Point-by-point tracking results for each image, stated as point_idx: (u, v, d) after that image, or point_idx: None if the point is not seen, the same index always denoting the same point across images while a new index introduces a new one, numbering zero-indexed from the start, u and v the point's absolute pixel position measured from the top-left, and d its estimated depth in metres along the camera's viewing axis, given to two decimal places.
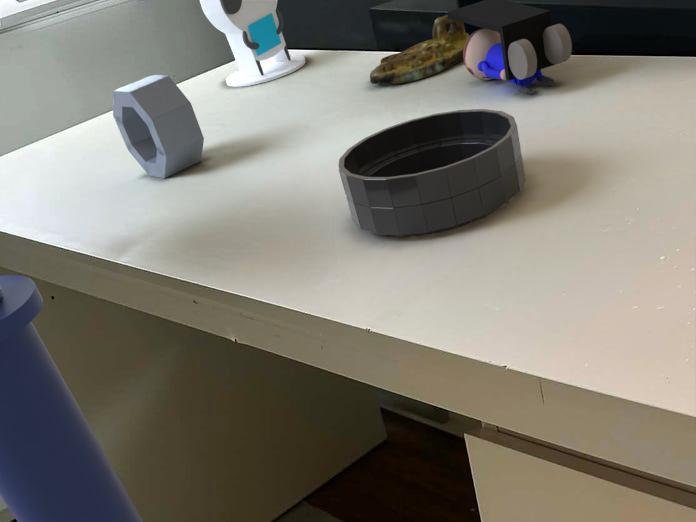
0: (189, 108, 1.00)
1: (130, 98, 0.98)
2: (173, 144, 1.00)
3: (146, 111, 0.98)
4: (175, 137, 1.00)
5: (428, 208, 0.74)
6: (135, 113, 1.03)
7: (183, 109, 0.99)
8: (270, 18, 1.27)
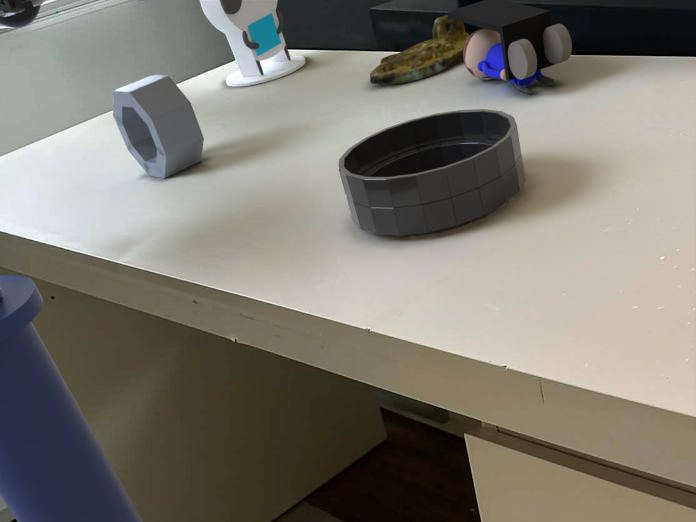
0: (189, 108, 1.00)
1: (130, 98, 0.98)
2: (173, 144, 1.00)
3: (146, 111, 0.98)
4: (175, 137, 1.00)
5: (428, 208, 0.74)
6: (135, 113, 1.03)
7: (183, 109, 0.99)
8: (270, 18, 1.27)
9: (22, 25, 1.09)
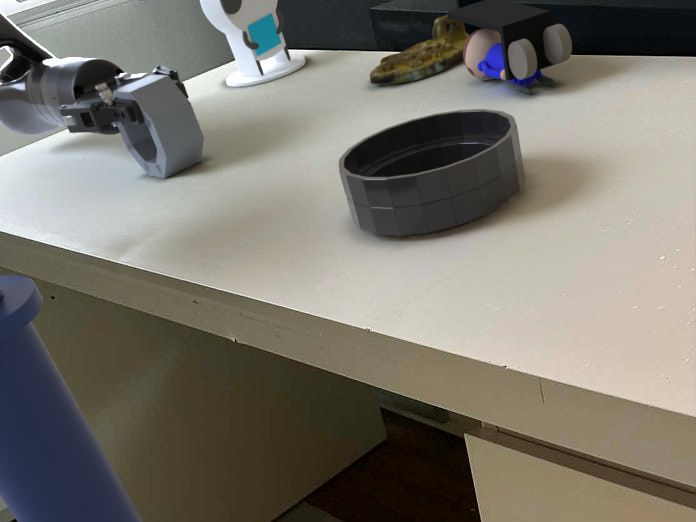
0: (189, 108, 1.00)
1: (130, 98, 0.98)
2: (173, 144, 1.00)
3: (146, 111, 0.98)
4: (175, 137, 1.00)
5: (428, 208, 0.74)
6: None
7: (183, 109, 0.99)
8: (270, 18, 1.27)
9: (117, 132, 1.09)
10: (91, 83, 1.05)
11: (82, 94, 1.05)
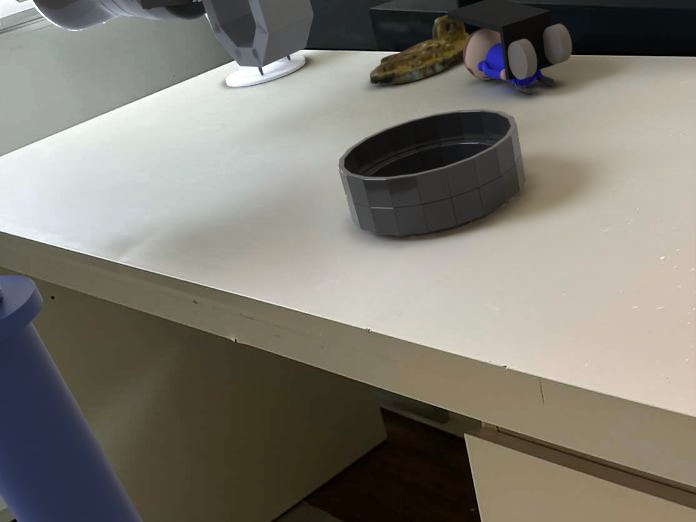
0: None
1: None
2: (277, 19, 0.78)
3: None
4: (280, 10, 0.78)
5: (428, 208, 0.74)
6: None
7: None
8: None
9: (196, 16, 0.87)
10: None
11: None
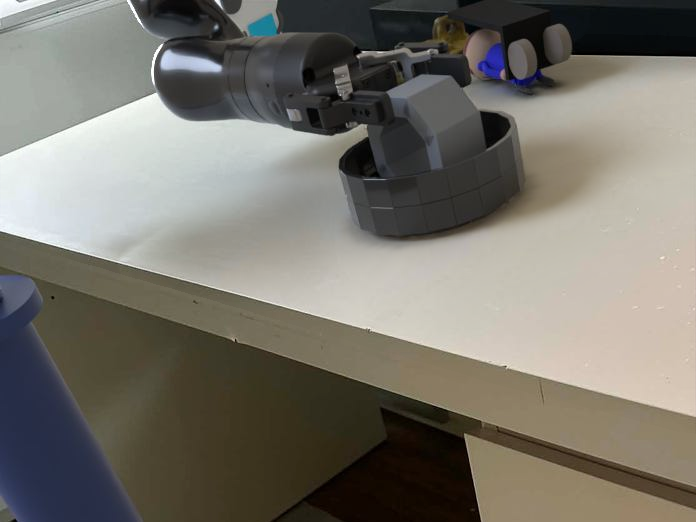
0: (477, 119, 0.75)
1: (406, 106, 0.73)
2: None
3: (429, 123, 0.73)
4: (458, 157, 0.75)
5: (428, 208, 0.74)
6: (396, 125, 0.78)
7: (471, 120, 0.75)
8: (270, 18, 1.27)
9: (347, 130, 0.83)
10: (324, 65, 0.79)
11: (312, 80, 0.79)
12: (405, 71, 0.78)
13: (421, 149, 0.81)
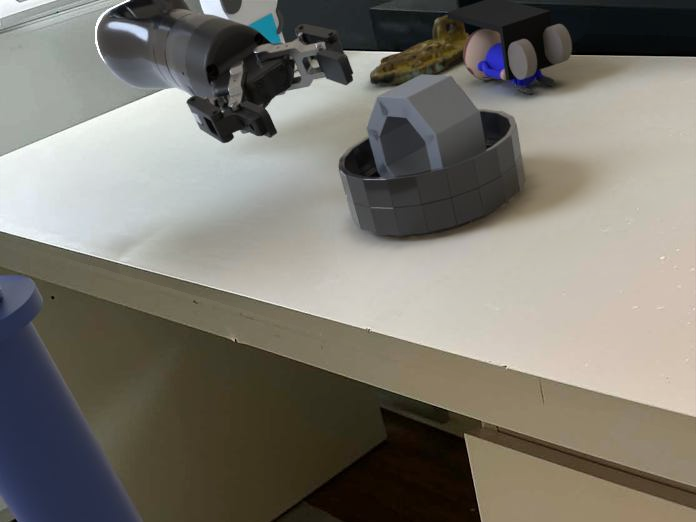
0: (477, 119, 0.75)
1: (406, 106, 0.73)
2: None
3: (429, 123, 0.73)
4: (458, 157, 0.75)
5: (428, 208, 0.74)
6: (396, 125, 0.78)
7: (471, 120, 0.75)
8: (270, 18, 1.27)
9: None
10: (227, 58, 0.86)
11: (216, 74, 0.86)
12: (298, 64, 0.84)
13: (421, 149, 0.81)
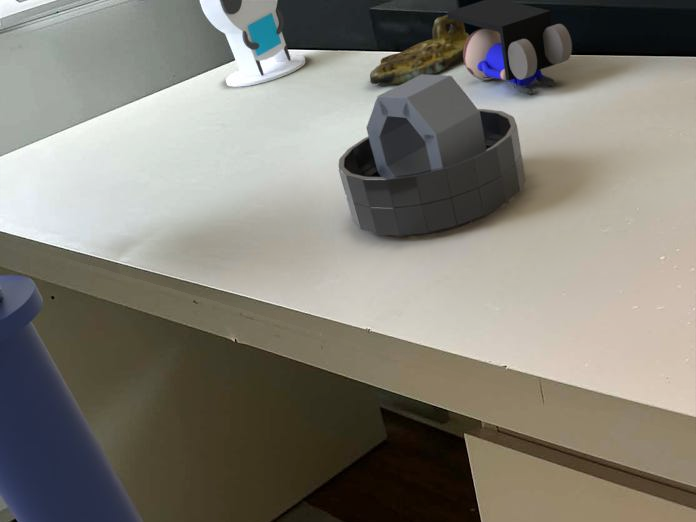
0: (477, 119, 0.75)
1: (406, 106, 0.73)
2: None
3: (429, 123, 0.73)
4: (458, 157, 0.75)
5: (428, 208, 0.74)
6: (396, 125, 0.78)
7: (471, 120, 0.75)
8: (270, 18, 1.27)
9: None
10: None
11: None
12: None
13: (421, 149, 0.81)
